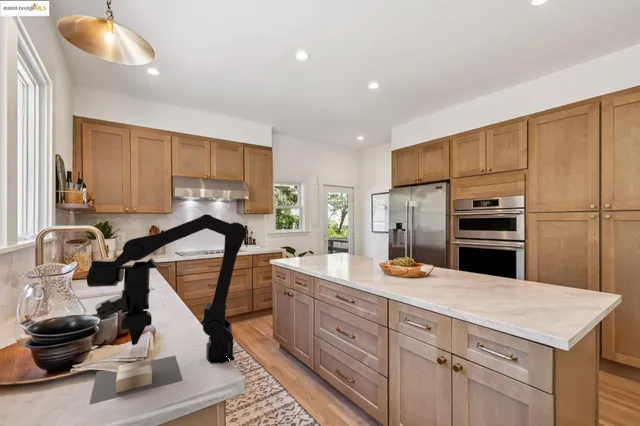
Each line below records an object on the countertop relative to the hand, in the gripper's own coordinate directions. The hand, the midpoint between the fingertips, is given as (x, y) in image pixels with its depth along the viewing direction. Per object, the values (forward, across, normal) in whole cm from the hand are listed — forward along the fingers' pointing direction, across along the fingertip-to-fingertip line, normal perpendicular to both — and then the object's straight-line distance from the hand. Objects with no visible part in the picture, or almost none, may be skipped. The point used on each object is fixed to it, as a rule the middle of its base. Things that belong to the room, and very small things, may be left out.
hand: (134, 344), depth 77 cm
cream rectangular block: (+4, +4, 0) cm, 6 cm away
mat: (+7, +6, +1) cm, 9 cm away
